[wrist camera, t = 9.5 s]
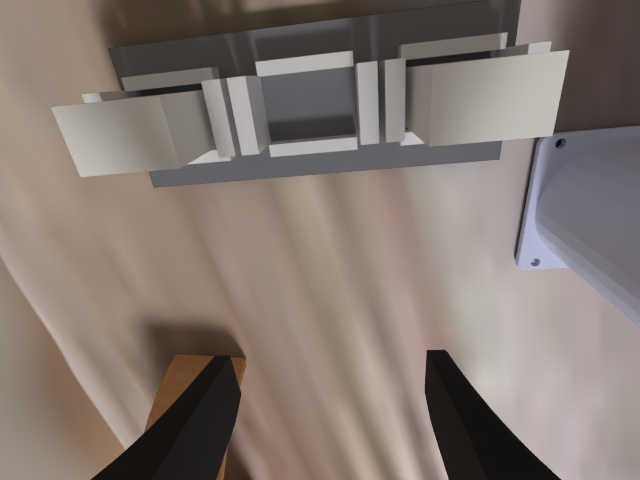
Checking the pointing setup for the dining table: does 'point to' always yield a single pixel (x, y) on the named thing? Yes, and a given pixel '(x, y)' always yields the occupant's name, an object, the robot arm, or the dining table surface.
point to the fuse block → (317, 89)
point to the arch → (177, 382)
